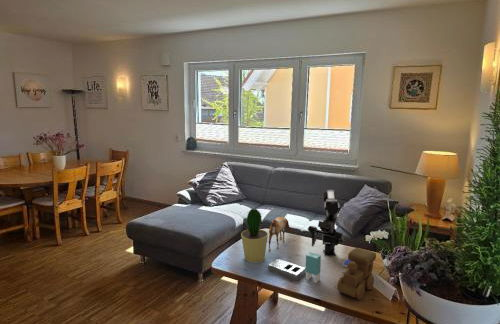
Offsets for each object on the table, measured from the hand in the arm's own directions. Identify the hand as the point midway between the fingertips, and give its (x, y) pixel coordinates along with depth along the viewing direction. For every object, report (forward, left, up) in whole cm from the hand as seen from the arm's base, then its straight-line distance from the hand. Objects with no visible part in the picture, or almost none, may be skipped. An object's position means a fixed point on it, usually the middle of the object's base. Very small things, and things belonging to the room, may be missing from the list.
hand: (320, 248), depth 162 cm
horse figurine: (-33, -18, -14) cm, 40 cm away
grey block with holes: (-1, -17, -14) cm, 22 cm away
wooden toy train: (+15, +14, -14) cm, 25 cm away
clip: (+7, -5, -14) cm, 16 cm away
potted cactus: (-16, -35, -14) cm, 41 cm away
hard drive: (-11, +20, -14) cm, 27 cm away
